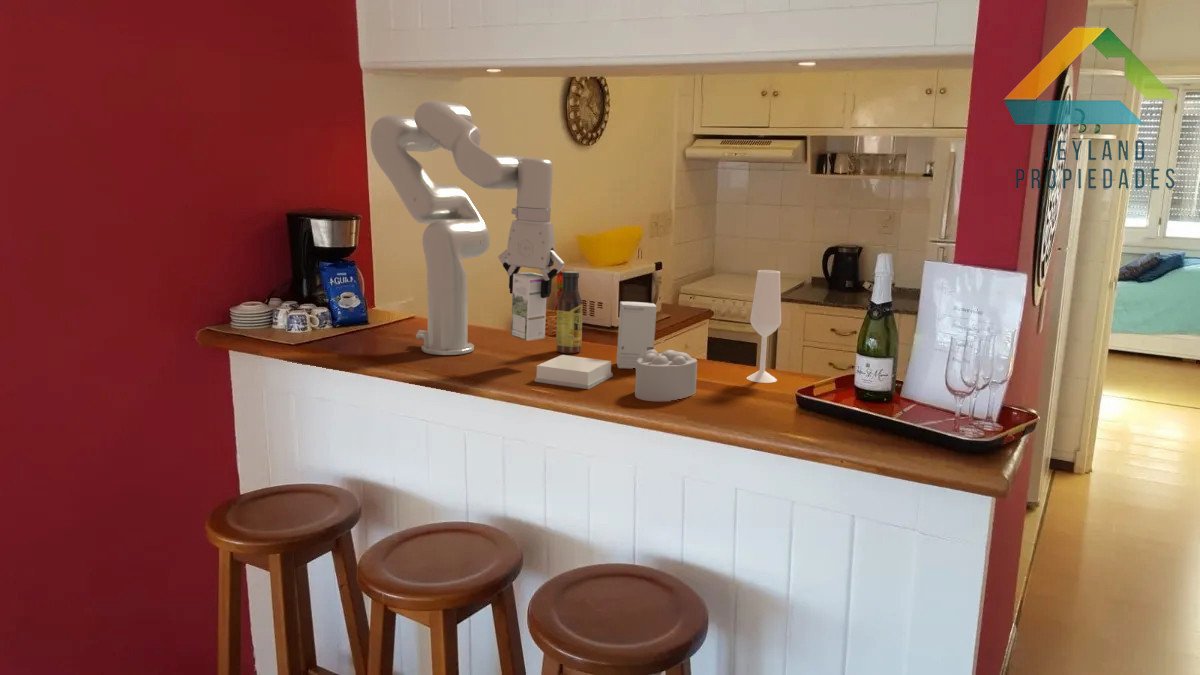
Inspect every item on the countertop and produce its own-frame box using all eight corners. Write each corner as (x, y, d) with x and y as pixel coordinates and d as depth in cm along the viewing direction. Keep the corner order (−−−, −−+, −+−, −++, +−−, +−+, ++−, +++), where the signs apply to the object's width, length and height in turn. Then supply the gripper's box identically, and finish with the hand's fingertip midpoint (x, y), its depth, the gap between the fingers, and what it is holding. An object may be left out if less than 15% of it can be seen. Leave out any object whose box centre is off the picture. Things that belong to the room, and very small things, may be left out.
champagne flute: (781, 382, 189) (789, 273, 184) (752, 383, 188) (759, 273, 183) (770, 375, 196) (778, 269, 191) (742, 375, 194) (748, 269, 190)
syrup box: (545, 338, 196) (549, 275, 193) (525, 341, 192) (528, 276, 189) (529, 333, 200) (532, 271, 197) (509, 336, 196) (512, 272, 193)
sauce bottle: (578, 355, 210) (580, 274, 206) (553, 353, 211) (554, 272, 207) (584, 349, 216) (585, 270, 212) (559, 348, 217) (561, 269, 214)
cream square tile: (534, 381, 184) (534, 365, 183) (561, 369, 195) (561, 354, 194) (588, 389, 179) (588, 372, 178) (612, 376, 190) (612, 360, 190)
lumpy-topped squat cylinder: (702, 394, 178) (704, 353, 176) (660, 405, 169) (662, 362, 167) (664, 384, 185) (666, 344, 183) (622, 394, 176) (623, 352, 174)
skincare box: (617, 369, 197) (619, 304, 194) (616, 362, 203) (618, 300, 200) (654, 369, 198) (657, 305, 195) (651, 363, 204) (654, 301, 201)
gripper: (490, 212, 190) (487, 292, 194) (561, 220, 183) (556, 302, 187) (507, 211, 197) (504, 288, 201) (576, 218, 190) (571, 297, 194)
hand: (529, 294), depth 194 cm, fingers closed on syrup box, 7 cm apart
